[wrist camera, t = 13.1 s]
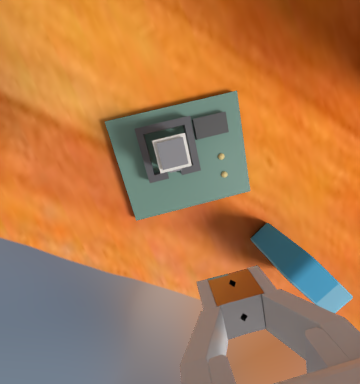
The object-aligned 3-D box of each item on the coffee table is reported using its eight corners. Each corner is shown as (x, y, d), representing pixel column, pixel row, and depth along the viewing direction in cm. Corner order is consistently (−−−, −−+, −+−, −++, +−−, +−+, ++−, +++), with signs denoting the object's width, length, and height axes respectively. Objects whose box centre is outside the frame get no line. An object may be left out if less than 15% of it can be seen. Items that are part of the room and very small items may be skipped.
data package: (300, 254, 40) (358, 301, 29) (284, 269, 41) (334, 321, 29) (264, 219, 37) (312, 256, 26) (247, 236, 38) (286, 279, 26)
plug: (178, 134, 30) (185, 132, 23) (184, 162, 32) (193, 170, 24) (153, 140, 30) (151, 140, 23) (160, 168, 31) (161, 177, 24)
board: (233, 92, 31) (242, 87, 28) (247, 189, 35) (255, 194, 32) (106, 122, 30) (100, 120, 27) (136, 217, 34) (135, 225, 31)
